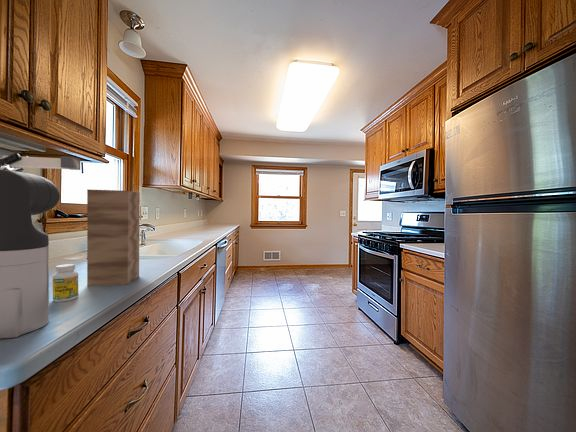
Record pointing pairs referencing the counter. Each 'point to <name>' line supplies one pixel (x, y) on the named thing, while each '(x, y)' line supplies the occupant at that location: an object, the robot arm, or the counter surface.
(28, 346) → the counter surface
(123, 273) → the walnut stand
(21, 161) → the white bar
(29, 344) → the counter surface
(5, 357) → the counter surface
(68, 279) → the supplement bottle
